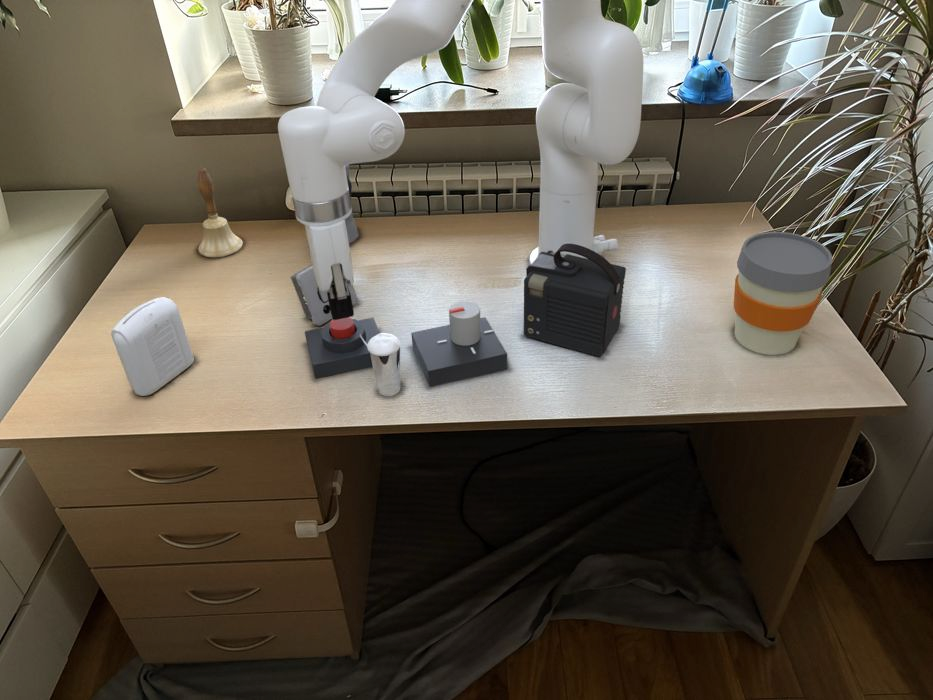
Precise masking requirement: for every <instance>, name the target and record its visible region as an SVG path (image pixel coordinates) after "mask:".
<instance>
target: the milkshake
mask: <svg viewBox="0 0 933 700" xmlns="http://www.w3.org/2000/svg"><path fill="white" fill-rule="evenodd" d="M360 337H361V339H362V340H363V342H364V343H365V344H366V346H367V348H368V352H369V356H370V359H371V363H372V367H371V368H372V370H373V375H374V379H375V380H374V381H375V384H376V388H377V391H378V393H379V395H381V396H384V397H393V396H395V395H397V394H399V393H400V390H401V387H402V385H401V382H402V381H401V380H402V379H401V342H400V339H399V338H398V337H396V336H395V335H394V334H392V333H389V332H388V333H387V332H380V333H379V334H378V335H376V336H374V337H372V338H371V339H370V340H369V342H368V345H367V343H366V342H365V341H364V339H363V338H362V336H361V335H360Z"/></svg>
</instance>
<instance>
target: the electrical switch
mask: <svg viewBox="0 0 933 700" xmlns="http://www.w3.org/2000/svg"><path fill="white" fill-rule="evenodd" d="M290 280H291V283H292V285H293V287H294V290H295V292H296V295H297V298H298V300H299V302H300V305H301V307H302V310H303V314H304V315H305V317H306V319H309V320H312V323H313V325H314V326H317V327H318V326H322V325H323V326H324V324H325V323H326V324H327V322H329V321H331V320H333V318H332V315H331V311H330V306H329V300H328V295H327V292H329V291H325V292H322V291H321V290H320V289H319V287H318V284H317V280H316V277H315V273H314V270H313V266H312V264H310V265H308V266H306V267H304V268H302V269H301V270H299V271H298V272H295V273H294V274H292V275H291V276H290ZM348 288H349V292H350V294H351V299H352V305H353V306H354V305H355V304H357V302H358V296H357V293H356V290H355V286H354V284H353V285H352V286H350V285H348Z"/></svg>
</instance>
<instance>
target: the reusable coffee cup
mask: <svg viewBox="0 0 933 700" xmlns="http://www.w3.org/2000/svg"><path fill="white" fill-rule="evenodd" d="M832 264H833V254H832V253H831V251H830V249H828V248H827V247H826V246H825V245H824V244H822V243H821V242H819V241H817V240H815V239H813V238H811V237H808V236H805V235H801V234H798V233H792V232H788V231H787V232H786V231H785V232H784V231H769V232H768V231H767V232H761V233H755V234H753V235H751V236H750V237H748V238H747V239H745V241H744V242H743V244H742V247H741V250H740V252H739V255H738V258H737V261H736V267H737V269H738V273H737V274H736V275H735V276H736V277H735V279H734V292H733V293H734V294H733V310H734V313H735V323H734V337H735V339H736V341H737V342H738V344H740V345H741V346H743V347H744V348H745V349H747V350H749V351H751V352H754V353H757V354H761V355H766V356H767V355H769V356H777V355H778V356H779V355H783V354H784V355H785V354H787V353H790V352H791V351H793V349H794V348H795V346H796V345H797V343H798V340H799V338H800V336H801V334H802V332H803V330H804V328H805V327H806V326H807V325H809V323H810V322H811V320H812V318H813V316H814V314H815V311H816V310H817V307H818V306H819V303H820V301H821V299H822V296H823V288H824V286H825V285H826V284H827V283H828V282H829V281H830V276H831V270H832Z"/></svg>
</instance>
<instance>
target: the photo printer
mask: <svg viewBox="0 0 933 700" xmlns="http://www.w3.org/2000/svg"><path fill="white" fill-rule="evenodd" d="M110 336H111V339H112V343H113V344H114V347H115V350H116V352H117V354H118V357H119V360H120V363H121V365H122V368H123V371H124V373H125V375H126V378H127V380H128V383H129V385H130V387H131V389H132V390H133V392H134V394H136V395H137V396H141V397H147V396H150V395H153V394H154V393H155V392H157V391H159V390H160V389H161V388H163V387H164V386H166V385H167V384H168V383H169V382H171V381H173V379H175V378H176V377H178V376H179V375H180V374H181V373H182V372H184V371H185V370H187V369H188V368H189V367H191V365H193V364H194V362H195V358H194V353H193V352H192V349H191V345H190V341H189V337H188V336H187V333H186V329H185V325H184V323H183V319H182V316H181V313H180V311H179V308H178V306H177V305H176V303H175V302H174V301H173V300H172V299H171V298H169V297H168V298H167V297H166V296H161V297H157V298H153V299H150V300H147V301H146V302H143V303H142V304H140V305H138V306H136V307H135V308H133V309H132V310H130V311H129V312H128V313H127V314H125V315H124V316H123V317H121V319H120V320H119V321H118V322H117V323H116V324H115V326H114V327H113V328H112V329H111V332H110Z"/></svg>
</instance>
